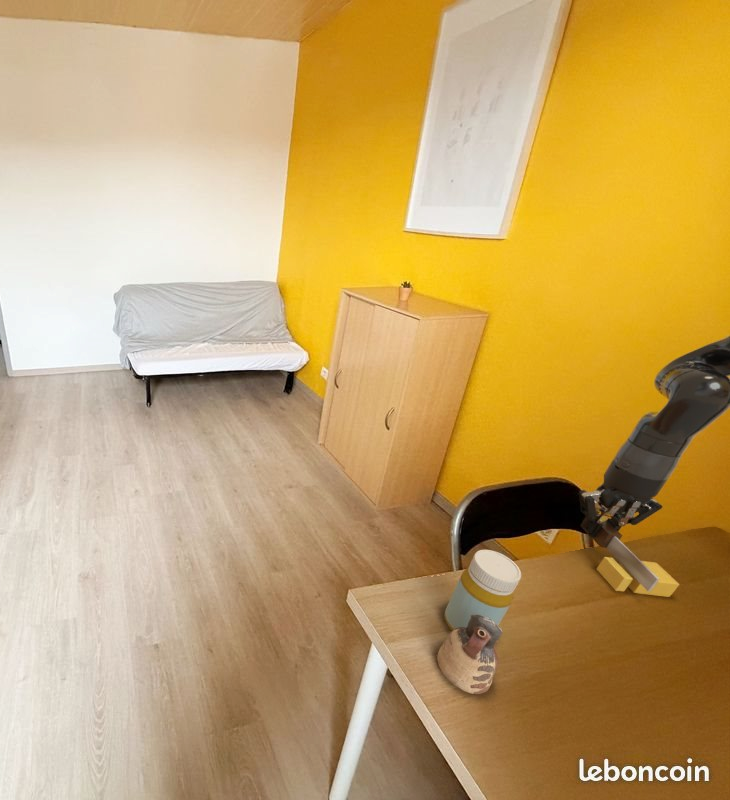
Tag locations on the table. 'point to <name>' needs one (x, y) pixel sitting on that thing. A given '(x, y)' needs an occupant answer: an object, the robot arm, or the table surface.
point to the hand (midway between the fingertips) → (597, 534)
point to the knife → (624, 555)
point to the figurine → (471, 655)
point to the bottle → (483, 589)
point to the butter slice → (614, 574)
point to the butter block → (662, 586)
